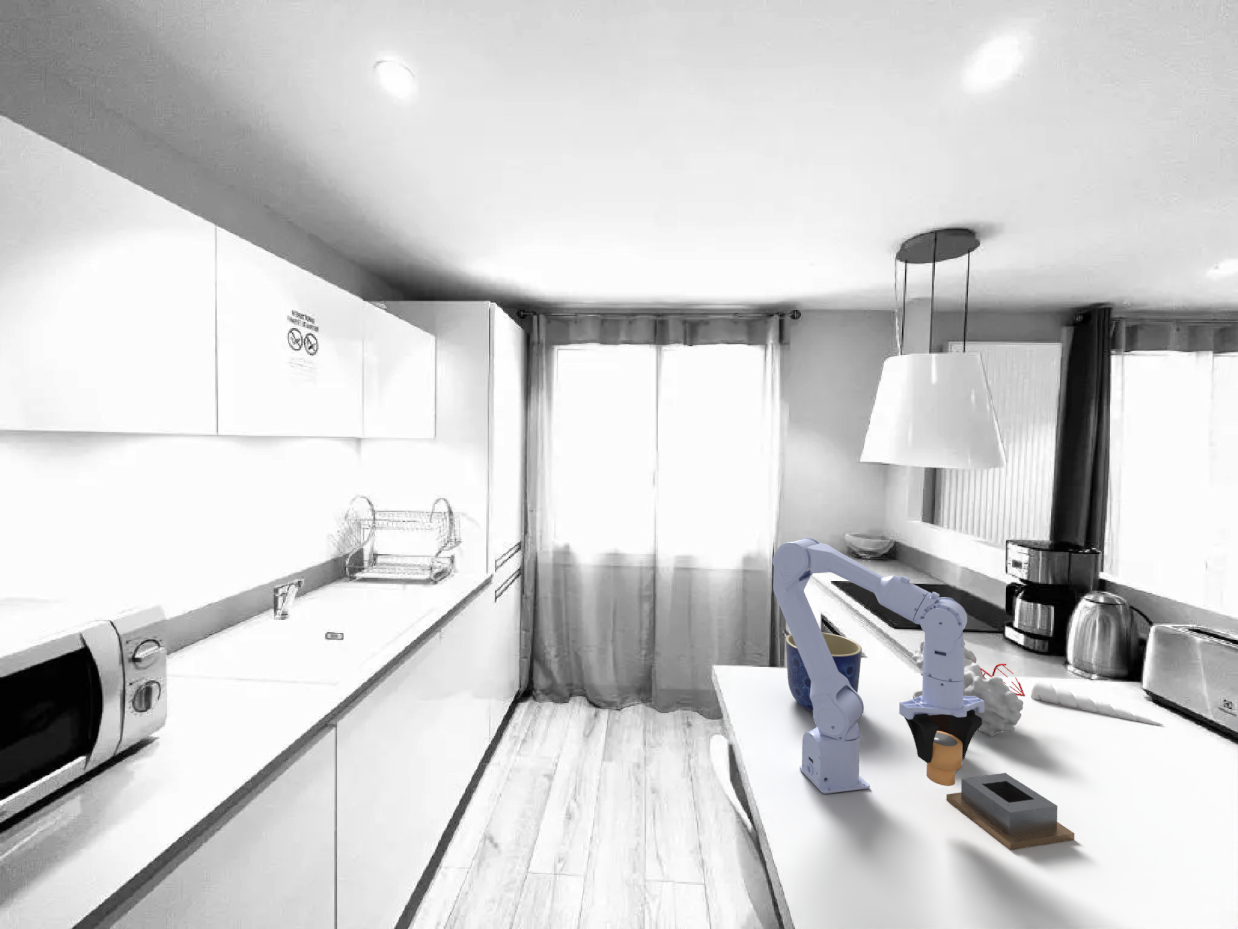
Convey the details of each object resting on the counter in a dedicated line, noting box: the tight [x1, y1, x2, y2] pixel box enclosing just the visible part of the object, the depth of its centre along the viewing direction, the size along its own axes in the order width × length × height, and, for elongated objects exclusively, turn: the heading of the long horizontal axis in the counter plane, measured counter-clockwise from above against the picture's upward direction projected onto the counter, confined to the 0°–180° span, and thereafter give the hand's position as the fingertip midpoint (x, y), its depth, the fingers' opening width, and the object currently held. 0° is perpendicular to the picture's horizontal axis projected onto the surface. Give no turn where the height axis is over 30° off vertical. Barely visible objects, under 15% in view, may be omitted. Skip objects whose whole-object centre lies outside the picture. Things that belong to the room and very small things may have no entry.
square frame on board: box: [945, 772, 1075, 850], centre depth 88 cm, size 12×12×4 cm
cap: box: [926, 731, 963, 787], centre depth 87 cm, size 6×6×7 cm
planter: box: [785, 631, 863, 712], centre depth 127 cm, size 17×17×15 cm
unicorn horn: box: [1030, 678, 1164, 726], centre depth 127 cm, size 5×24×5 cm, turn 48°
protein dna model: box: [911, 639, 1026, 738], centre depth 124 cm, size 20×18×25 cm
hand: (940, 757), depth 87 cm, fingers closed on cap, 6 cm apart
